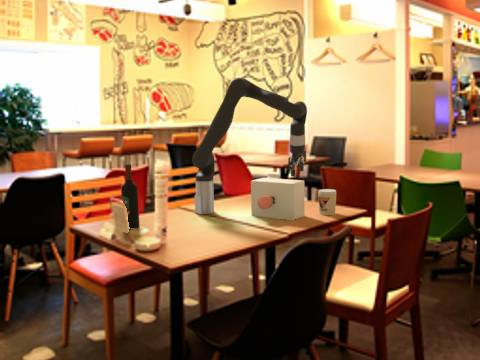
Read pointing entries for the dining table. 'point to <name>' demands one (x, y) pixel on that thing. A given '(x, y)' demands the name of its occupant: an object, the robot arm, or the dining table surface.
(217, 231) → the dining table surface
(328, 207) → the coffee cup
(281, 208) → the console
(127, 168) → the wine bottle
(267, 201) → the knob
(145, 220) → the dining table surface
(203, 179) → the robot arm
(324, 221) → the dining table surface
